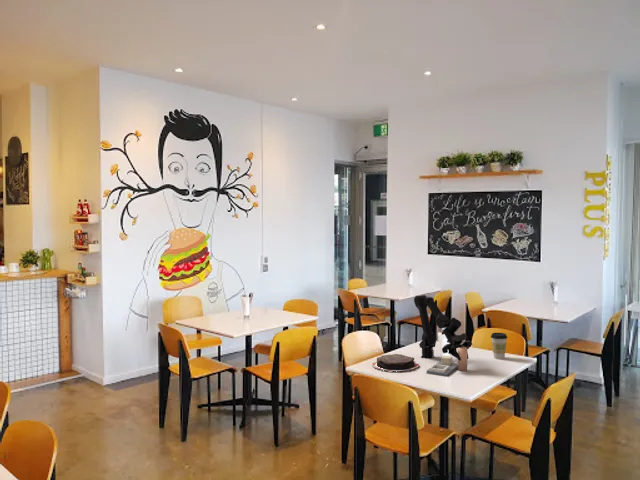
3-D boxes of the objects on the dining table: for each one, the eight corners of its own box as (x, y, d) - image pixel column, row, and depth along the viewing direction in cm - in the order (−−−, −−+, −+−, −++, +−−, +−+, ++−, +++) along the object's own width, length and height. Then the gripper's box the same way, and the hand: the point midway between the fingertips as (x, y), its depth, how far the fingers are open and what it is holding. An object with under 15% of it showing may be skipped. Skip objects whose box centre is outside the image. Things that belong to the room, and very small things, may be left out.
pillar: (456, 369, 304) (455, 347, 303) (463, 368, 306) (462, 346, 306) (462, 371, 299) (461, 349, 299) (469, 370, 301) (469, 348, 301)
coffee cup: (504, 361, 319) (504, 336, 319) (488, 358, 325) (488, 334, 325) (509, 357, 327) (509, 333, 326) (494, 355, 333) (493, 331, 332)
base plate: (426, 373, 298) (426, 363, 298) (440, 363, 318) (440, 354, 317) (447, 376, 292) (446, 366, 292) (459, 365, 311) (459, 356, 311)
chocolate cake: (383, 357, 334) (383, 347, 334) (425, 363, 320) (425, 352, 320) (364, 369, 310) (363, 358, 310) (408, 375, 296) (408, 364, 296)
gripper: (444, 330, 301) (457, 354, 292) (470, 327, 309) (483, 349, 300) (436, 341, 309) (448, 364, 299) (461, 337, 317) (474, 360, 307)
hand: (464, 359), depth 301 cm, fingers closed on pillar, 5 cm apart
